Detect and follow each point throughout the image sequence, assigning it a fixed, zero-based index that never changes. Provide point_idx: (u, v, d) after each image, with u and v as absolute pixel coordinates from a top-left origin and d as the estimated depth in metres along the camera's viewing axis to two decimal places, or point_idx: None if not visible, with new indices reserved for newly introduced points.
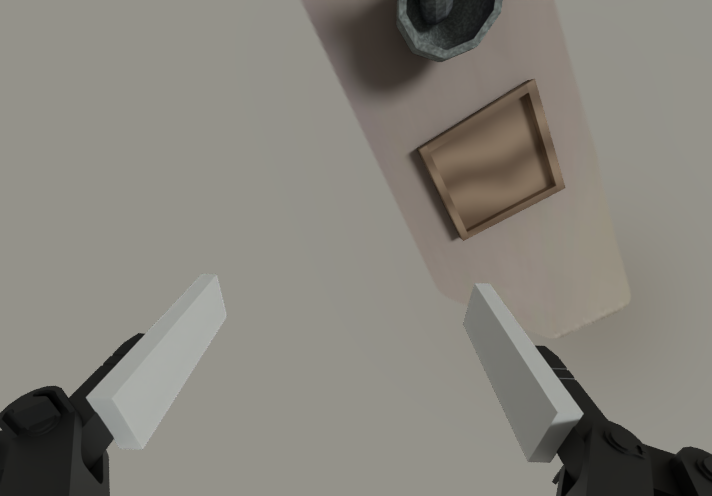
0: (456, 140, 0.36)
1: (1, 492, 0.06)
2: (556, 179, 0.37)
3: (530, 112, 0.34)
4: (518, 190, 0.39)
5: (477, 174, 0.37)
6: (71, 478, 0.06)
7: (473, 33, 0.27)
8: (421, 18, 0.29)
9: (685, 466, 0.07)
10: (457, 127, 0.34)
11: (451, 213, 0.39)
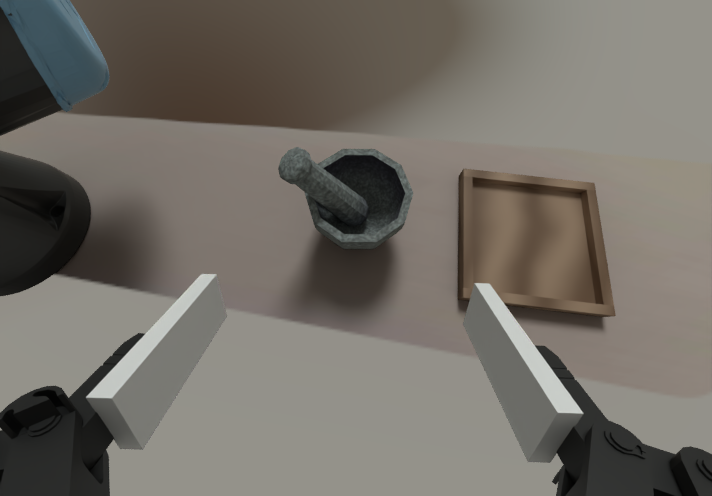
0: (476, 256, 0.30)
1: (1, 492, 0.06)
2: (578, 187, 0.31)
3: (490, 183, 0.32)
4: (570, 225, 0.31)
5: (527, 255, 0.30)
6: (71, 478, 0.06)
7: (398, 192, 0.27)
8: (352, 227, 0.29)
9: (685, 466, 0.07)
10: (464, 248, 0.29)
11: (565, 308, 0.27)
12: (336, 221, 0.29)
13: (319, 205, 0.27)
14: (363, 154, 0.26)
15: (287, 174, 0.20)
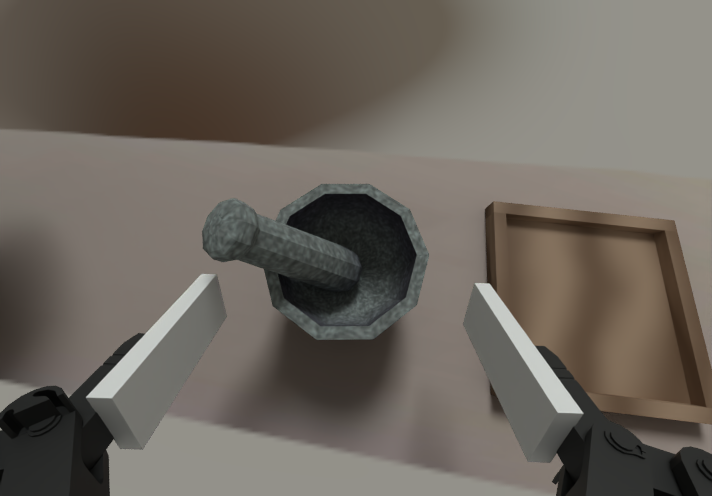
0: None
1: (1, 492, 0.06)
2: (653, 226, 0.23)
3: (529, 220, 0.24)
4: (644, 281, 0.22)
5: (587, 327, 0.21)
6: (71, 478, 0.06)
7: (405, 248, 0.18)
8: (339, 291, 0.21)
9: (685, 466, 0.07)
10: None
11: (651, 414, 0.19)
12: None
13: None
14: (352, 192, 0.17)
15: (211, 249, 0.11)
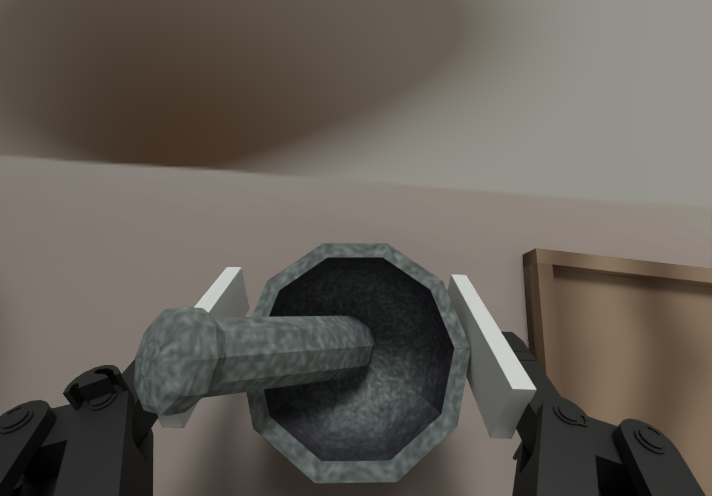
0: None
1: (65, 459, 0.07)
2: None
3: (578, 270, 0.19)
4: None
5: (659, 414, 0.17)
6: (123, 454, 0.07)
7: (434, 328, 0.13)
8: None
9: (625, 437, 0.08)
10: None
11: None
12: None
13: None
14: (364, 255, 0.13)
15: (143, 401, 0.07)
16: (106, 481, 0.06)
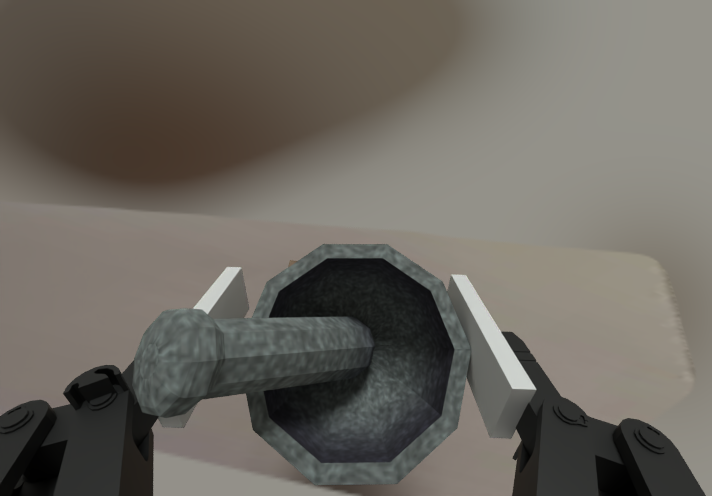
0: None
1: (65, 459, 0.07)
2: None
3: None
4: None
5: None
6: (123, 454, 0.07)
7: (435, 329, 0.13)
8: None
9: (625, 437, 0.08)
10: None
11: None
12: None
13: None
14: (364, 256, 0.13)
15: (142, 402, 0.07)
16: (106, 481, 0.06)
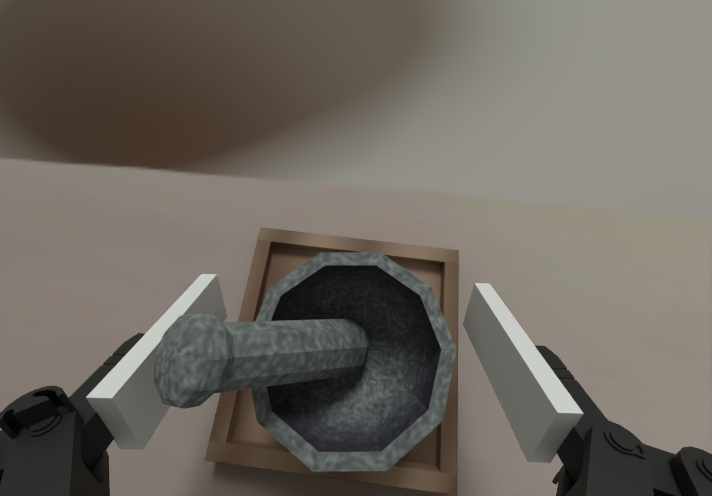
0: None
1: (1, 492, 0.06)
2: (433, 257, 0.20)
3: (305, 248, 0.21)
4: None
5: None
6: (71, 478, 0.06)
7: (424, 331, 0.14)
8: None
9: (685, 466, 0.07)
10: None
11: (374, 480, 0.16)
12: None
13: None
14: (358, 263, 0.14)
15: (163, 395, 0.08)
16: None
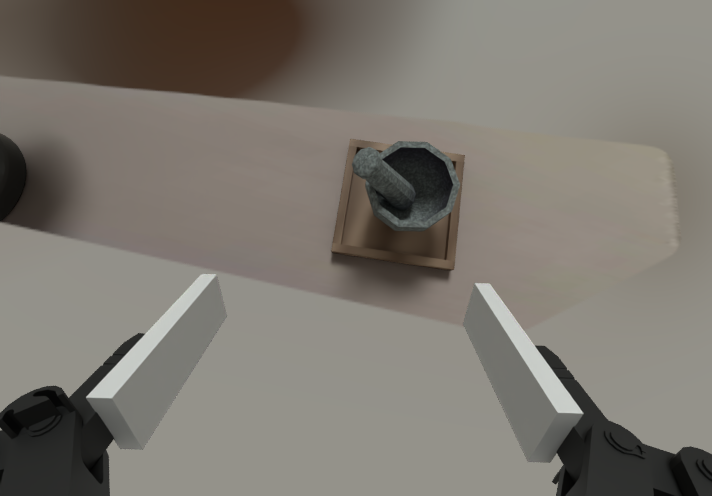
0: (351, 217, 0.35)
1: (1, 492, 0.06)
2: None
3: None
4: None
5: None
6: (71, 478, 0.06)
7: (445, 182, 0.30)
8: (399, 210, 0.33)
9: (685, 466, 0.07)
10: (339, 210, 0.34)
11: (414, 262, 0.33)
12: (386, 204, 0.33)
13: None
14: (416, 146, 0.29)
15: (361, 171, 0.24)
16: None
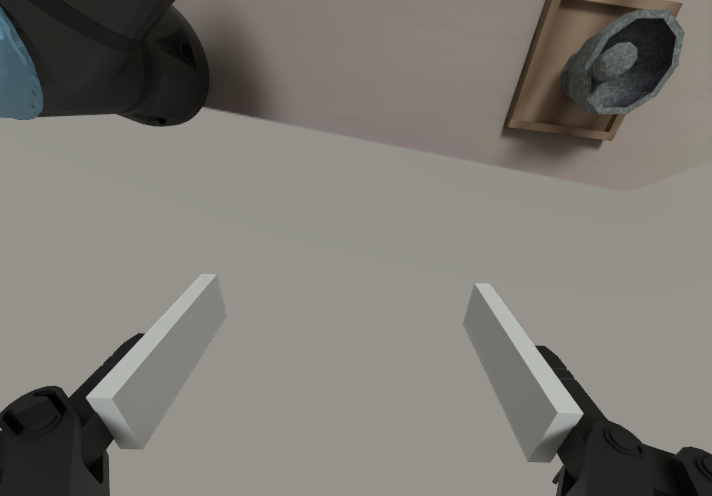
0: (530, 89, 0.37)
1: (1, 492, 0.06)
2: None
3: (577, 1, 0.32)
4: None
5: None
6: (71, 478, 0.06)
7: (658, 58, 0.30)
8: None
9: (685, 466, 0.07)
10: (524, 83, 0.36)
11: (579, 135, 0.38)
12: None
13: None
14: (654, 17, 0.28)
15: (610, 72, 0.26)
16: None
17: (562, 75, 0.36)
